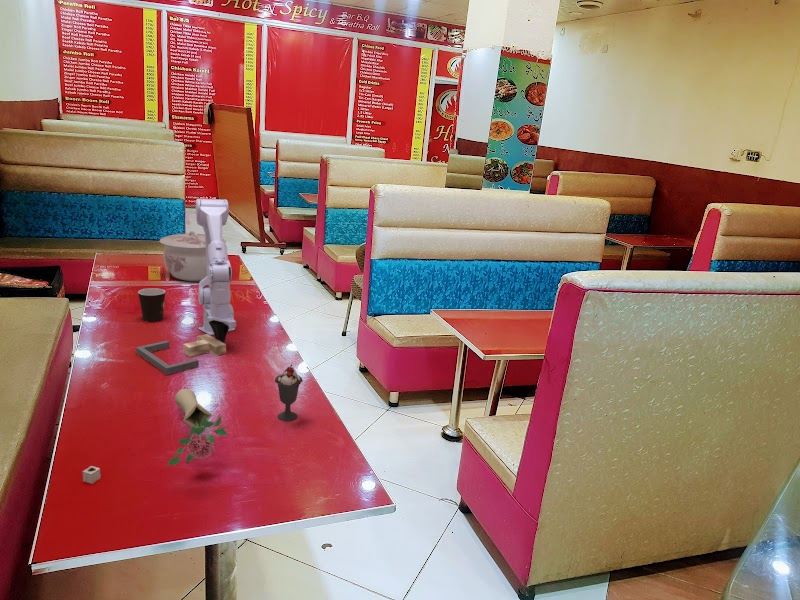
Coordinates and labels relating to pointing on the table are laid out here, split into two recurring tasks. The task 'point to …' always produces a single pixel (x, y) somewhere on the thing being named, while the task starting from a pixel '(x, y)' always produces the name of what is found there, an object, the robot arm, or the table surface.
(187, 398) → the flower vase
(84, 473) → the beige hollow cube
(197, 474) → the table surface
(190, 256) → the chamber pot
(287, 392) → the sundae
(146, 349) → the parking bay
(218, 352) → the T block
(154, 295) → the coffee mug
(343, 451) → the table surface
